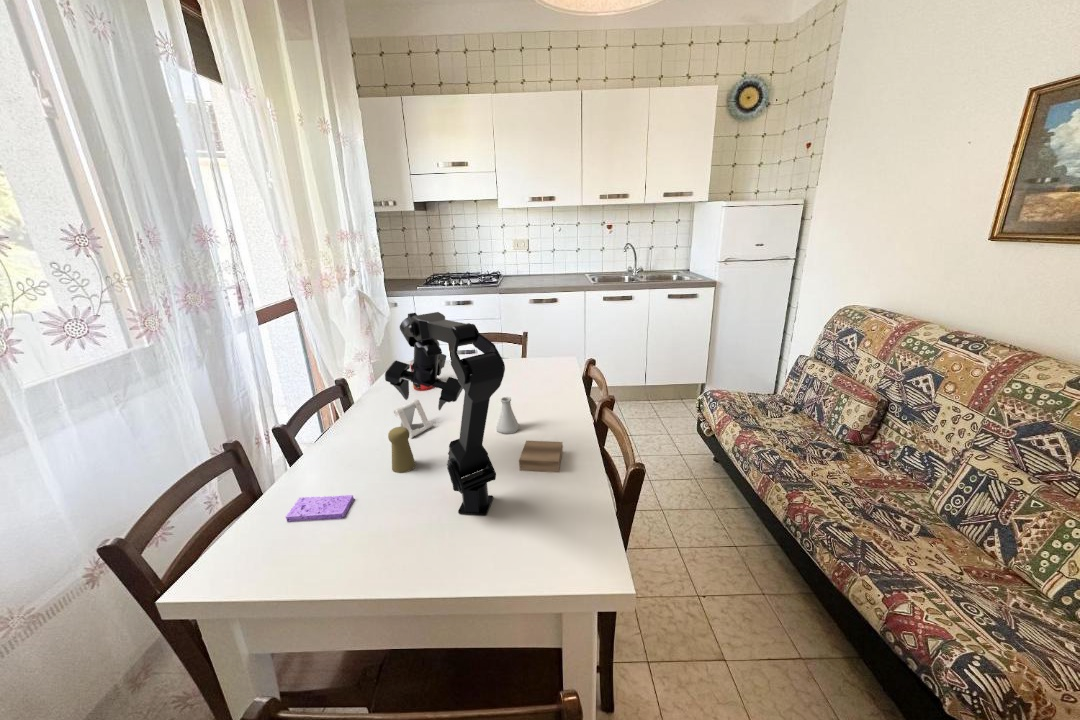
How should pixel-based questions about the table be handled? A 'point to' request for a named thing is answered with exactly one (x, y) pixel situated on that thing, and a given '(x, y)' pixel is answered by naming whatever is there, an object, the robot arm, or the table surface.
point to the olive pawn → (401, 450)
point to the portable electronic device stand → (407, 417)
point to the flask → (507, 418)
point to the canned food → (418, 386)
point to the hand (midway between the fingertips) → (423, 404)
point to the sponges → (320, 508)
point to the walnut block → (541, 456)
